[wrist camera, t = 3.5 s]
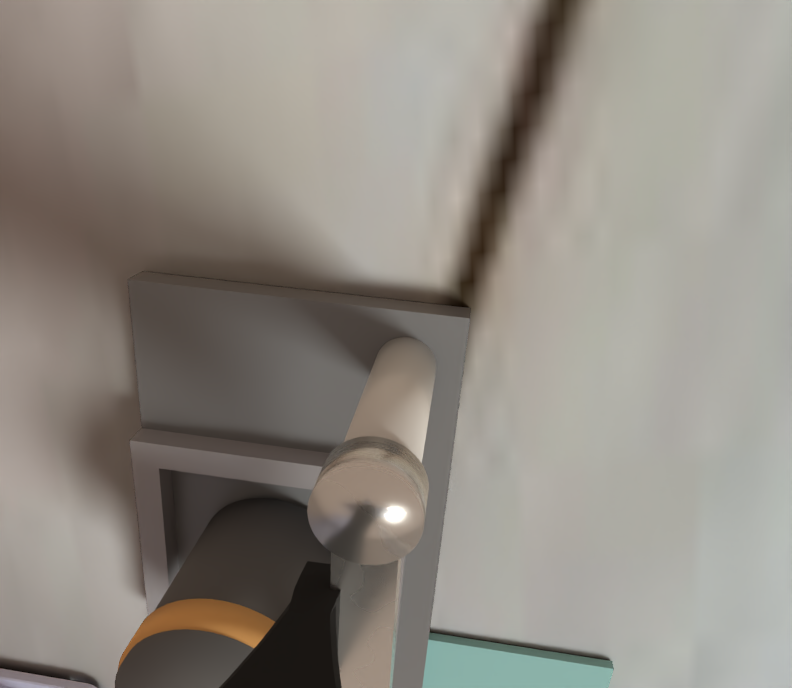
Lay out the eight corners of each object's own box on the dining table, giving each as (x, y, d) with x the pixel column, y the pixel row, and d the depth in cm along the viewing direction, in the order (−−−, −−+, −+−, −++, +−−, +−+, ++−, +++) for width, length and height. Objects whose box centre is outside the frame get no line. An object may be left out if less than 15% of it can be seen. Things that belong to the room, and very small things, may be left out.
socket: (174, 644, 22) (78, 820, 17) (142, 271, 17) (-14, 356, 12) (421, 685, 22) (402, 883, 16) (470, 308, 16) (466, 417, 11)
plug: (211, 607, 21) (132, 760, 16) (189, 489, 19) (91, 626, 14) (354, 623, 20) (313, 788, 15) (347, 502, 18) (297, 650, 13)
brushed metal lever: (321, 430, 11) (307, 460, 10) (432, 442, 11) (428, 475, 10) (318, 790, 15) (307, 836, 14) (401, 803, 15) (396, 851, 14)
